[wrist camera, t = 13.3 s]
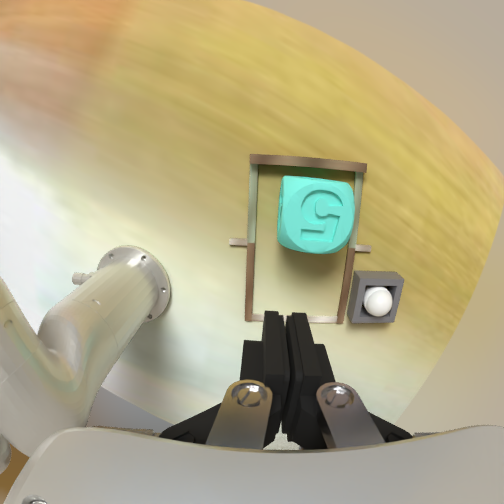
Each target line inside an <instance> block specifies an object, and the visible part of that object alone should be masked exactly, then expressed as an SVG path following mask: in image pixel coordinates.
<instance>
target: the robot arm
mask: <svg viewBox="0 0 504 504" xmlns="http://www.w3.org/2000/svg"><path fill="white" fill-rule="evenodd" d="M145 256H146V258H145ZM72 282H73V284H75V285H80V286H79V287H78V288H76V289H75V290H74V291H73V292H71V293H70V294H69V295H67V296H66V297H65V298H64V299H62V300H61V301H60V302H58V303H57V304H56V305H55V306H53V307H52V308H51V309H50V310H49V311H48V312H47V314H46V315H45V317H44V318H43V320H42V322H41V325H40V327H39V331H38V334H37V335H36V333H35V332H34V330H33V329H32V327H31V326H30V324H29V322H28V321H27V319H26V318H25V316H24V314H23V313H22V311H21V309H20V308H19V306H18V304H17V302H16V301H15V299H14V297H13V295H12V294H11V292H10V290H9V289H8V287H7V285H6V284H5V282H4V281H3V279H2V278H1V277H0V474H1V473H2V472H3V471H4V470H5V469H6V468H7V466H8V464H9V462H10V459H11V448H10V444H9V442H10V443H11V444H12V445H13V446H14V447H15V448H17V449H18V450H19V451H21V452H22V453H24V454H25V455H27V456H29V457H30V459H29V460H28V461H27V463H26V464H25V466H24V468H23V469H22V471H21V472H20V474H19V476H18V478H17V479H16V481H15V482H14V484H13V486H12V488H11V490H10V492H9V494H8V496H7V498H6V500H5V502H4V504H504V427H501V426H496V425H476V426H469V427H463V428H459V429H454V430H449V431H445V432H436V433H414V434H413V436H411V435H410V433H408V432H406V431H405V430H403V429H401V428H399V427H397V426H395V425H393V424H391V423H389V422H387V421H385V420H383V419H381V418H379V417H377V416H375V415H373V414H371V413H370V412H368V411H367V409H366V407H365V406H364V404H363V402H362V400H361V399H360V397H359V395H358V393H357V392H356V391H355V390H354V389H353V388H352V387H350V386H349V385H346V384H344V383H339V382H335V379H334V375H333V372H332V368H331V365H330V362H329V358H328V355H327V352H326V349H325V346H324V344H314V341H313V337H312V334H311V330H310V326H309V322H308V319H307V315H306V313H295V312H292V315H291V316H287V318H286V325H284V317H283V315H279V313H278V311H265V313H264V323H263V332H262V341H251V340H244V345H243V354H242V364H241V373H240V381H237V382H234V383H233V384H232V385H230V386H229V388H228V389H227V391H226V393H225V396H224V399H223V401H222V403H220V404H218V405H216V406H214V407H212V408H210V409H208V410H206V411H204V412H202V413H200V414H197V415H195V416H193V417H191V418H189V419H187V420H185V421H183V422H180V423H178V424H176V425H174V426H171V427H169V428H167V429H166V430H164V431H163V432H162V433H154V432H153V430H150V429H149V430H148V429H147V430H146V429H130V428H117V427H106V426H92V427H86V425H87V422H88V419H89V415H90V412H91V408H92V405H93V402H94V400H95V397H96V395H97V393H98V391H99V389H100V387H101V385H102V383H103V382H104V380H105V378H106V377H107V375H108V373H109V372H110V370H111V369H112V367H113V366H114V364H115V363H116V361H117V360H118V358H119V357H120V355H121V354H122V352H123V351H124V350H125V348H126V347H127V345H128V344H129V342H130V341H131V339H132V338H133V336H134V335H135V333H136V332H137V331H138V329H139V328H140V326H141V325H142V323H144V322H149V321H152V320H154V319H156V318H157V317H159V316H160V315H161V313H162V312H163V311H164V310H165V308H166V306H167V304H168V302H169V298H170V283H169V279H168V276H167V274H166V271H165V270H164V268H163V266H162V265H161V263H160V262H159V261H158V260H157V259H156V258H155V257H154V256H153V255H152V254H150V253H149V252H147V251H145V250H144V249H142V248H139V247H136V246H130V245H125V246H119V247H116V248H114V249H112V250H110V251H109V252H107V253H106V254H105V255H104V256H103V257H102V259H101V260H100V262H99V264H98V267H97V271H96V272H95V273H94V272H91V273H89V274H84V273H74V274H73V277H72ZM280 423H281V424H282V433H283V434H287V440H288V442H295V443H296V444H298V445H299V446H300V447H299V450H263V448H264V447H266V446H267V445H269V444H270V443H271V442H273V441H274V439H275V435H276V433H278V432H279V427H280ZM8 441H9V442H8Z"/></svg>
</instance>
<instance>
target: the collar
mask: <svg viewBox="0 0 504 504" xmlns="http://www.w3.org/2000/svg"><path fill="white" fill-rule="evenodd" d="M403 283H404V279H403V278H402V277H401V276H400V275H399V274H398V273H397V272H381V271H354V276H353V282H352V288H351V294H350V299H349V305H348V310H347V315H348V317H349V319H350V321H351V323H385V322H394V320H395V316H396V312H397V308H398V304H399V300H400V296H401V292H402V287H403ZM366 285H375V286H388V287H387V290H388V291H389V292H390V294H391V296H392V307H391V309H390V311H389V312H388V313H387V314H385V315H383V316H374V315H371V314H370V313H368V311H367V310H366V308H361V307H362V302H363V297H364V292H365V287H366Z"/></svg>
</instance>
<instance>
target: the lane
mask: <svg viewBox="0 0 504 504" xmlns="http://www.w3.org/2000/svg"><path fill="white" fill-rule="evenodd" d="M258 164H271V165H288V166H303V167H316V168H327V169H337V170H347V171H355V181H354V193H353V194H354V202H355V214H354V224H353V229H352V233H351V236H350V239H349V242H348V250H347V257H346V264H345V271H344V278H343V284H342V291H341V297H340V303H339V308H338V314H337V316H307V319H308V322H318V323H343V320H344V315H345V310H346V304H347V299H348V293H349V287H350V281H351V275H352V269H353V262H354V255H355V251H367V252H371V245H357V244H356V240H357V232H358V224H359V215H360V205H361V194H362V182H363V172H364V173H366V171H367V164H366V163H358V162H350V161H341V160H331V159H321V158H309V157H296V156H281V155H261V154H250V181H249V209H248V237H247V239H240V238H230V241H229V245H246V246H247V267H246V298H245V321H252V320H255V321H264V314H252V300H253V276H254V252H255V228H256V203H257V178H258ZM287 316H291V315H283V317H284V322H286V318H287Z"/></svg>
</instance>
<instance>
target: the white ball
mask: <svg viewBox="0 0 504 504" xmlns="http://www.w3.org/2000/svg"><path fill="white" fill-rule="evenodd" d="M362 304H363V305H364V307H365V308H366V310H367V311H368V313H370V314H371V315H374V316H383V315H385V314H387V313H388V312H389V311H390V309H391V307H392V296H391V294H390V292H389V291H388V290H387V289H386V288H385V286H375V285H367V286H366V287H365V292H364V297H363V302H362Z"/></svg>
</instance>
